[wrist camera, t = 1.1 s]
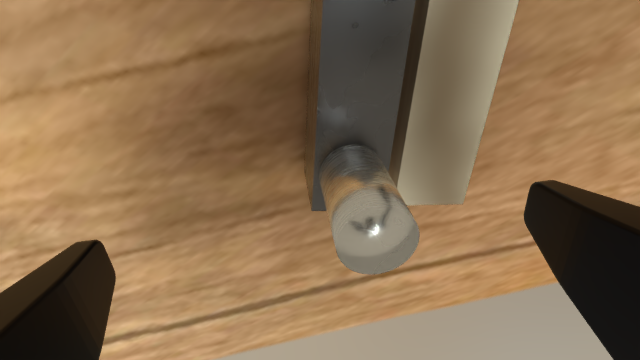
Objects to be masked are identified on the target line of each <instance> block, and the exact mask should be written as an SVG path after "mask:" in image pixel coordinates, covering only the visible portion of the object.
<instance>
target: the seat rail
mask: <svg viewBox="0 0 640 360" xmlns="http://www.w3.org/2000/svg"><path fill="white" fill-rule="evenodd" d="M518 2H519V0H416V1H415V7H414V13H413V20H412V26H411V32H410V39H409V45H408V51H407V58H406V64H405V70H404V77H403V83H402V89H401V96H400V102H399V108H398V115H397V121H396V127H395V134H394V140H393V146H392V153H391V159H390V165H389V171H388V173H389V175H390V177H391V178H392V180H393V182H394V184H395V186H396V187H397V189H398V191H399V193H400V195H401V196H402V198H403V200H404V202H405V204H406V205H448V204H463V202H464V198H465V195H466V191H467V187H468V184H469V180H470V177H471V173H472V169H473V166H474V162H475V158H476V155H477V151H478V148H479V144H480V140H481V137H482V133H483V129H484V126H485V122H486V118H487V115H488V111H489V108H490V104H491V100H492V97H493V93H494V89H495V86H496V82H497V79H498V75H499V71H500V68H501V64H502V60H503V57H504V53H505V49H506V46H507V42H508V39H509V35H510V31H511V28H512V24H513V20H514V17H515V13H516V9H517V6H518Z"/></svg>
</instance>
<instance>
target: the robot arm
mask: <svg viewBox="0 0 640 360" xmlns="http://www.w3.org/2000/svg"><path fill="white" fill-rule="evenodd" d="M524 221H525V224H526V226H527V228H528V230H529V231H530V233H531V235H532V237H533V239H534V240H535V242H536V244H537V246H538V247H539V249H540V251H541V253H542V254H543V256H544V258H545V260H546V261H547V263H548V265H549V267H550V268H551V270H552V272H553V274H554V275H555V277H556V279H557V280H558V282H559V283H560V285H561V286H562V288H563V289H564V291H565V292H566V294H567V295H568V296H569V298H570V299H571V301H572V302H573V303H574V305H575V306H576V308H577V309H578V310H579V312H580V313H581V315H582V316H583V318H584V319H585V320H586V322H587V323H588V325H589V326H590V327H591V329H592V330H593V332H594V333H595V334H596V336H597V337H598V338H599V340H600V341H601V343H602V344H603V346H604V347H605V348H606V350H607V351H608V352H609V354H610V355H611V357H612V358H613V359H614V360H640V207H638V206H635V205H632V204H629V203H626V202H622V201H619V200H616V199H613V198H609V197H606V196H603V195H600V194H597V193H593V192H590V191H587V190H584V189H581V188H577V187H574V186H571V185H568V184H564V183H561V182H558V181H555V180H547V181H540V182H535V183H533V184H532V185H531V187H530V189H529V194H528V198H527V203H526V207H525V211H524ZM115 280H116V276H115V271H114V268H113V266H112V263H111V261H110V259H109V257H108V254H107V252H106V250H105V248H104V245H103V244H102V243H101V242H100V241H98V240H89V241H81V242H77V243H75V244H73V245H71V246H70V247H68V248H67V249H65V250H64V251H62V252H61V253H59V254H58V255H56V256H55V257H54V258H52V259H51V260H49V261H48V262H46V263H45V264H43V265H42V266H40V267H39V268H37V269H36V270H34V271H33V272H31V273H30V274H28V275H27V276H25V277H24V278H22V279H21V280H19V281H18V282H16V283H15V284H13V285H12V286H10V287H9V288H7V289H6V290H4V291H3V292H1V293H0V360H99V356H100V353H101V349H102V345H103V341H104V336H105V331H106V326H107V321H108V316H109V311H110V306H111V301H112V296H113V291H114V286H115Z"/></svg>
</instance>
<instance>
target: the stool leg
mask: <svg viewBox="0 0 640 360" xmlns="http://www.w3.org/2000/svg"><path fill="white" fill-rule="evenodd" d="M415 1H416V0H311V21H310V46H309V71H308V96H307V121H306V146H305V177H306V182H307V188H308V193H309V199H310V204H311V210H312V211H327V214H328V218H329V222H330V226H331V230H332V235H333V239H334V243H335V247H336V251H337V254H338V257H339V259H340V261H341V262H342V263H343V264H344V265H345V266H346V267H347V268H349V269H351V270H352V271H355V272H358V273H362V274H380V273H384V272H388V271H390V270H393V269H395V268H397V267H399V266H400V265H402V264H403V263H404V262H406V261H407V260H408V259H409V258H410V257H411V255H412V254H413V253H414V251H415V250H416V247H417V245H418V242H419V228H418V225H417V223H416V221H415V220H414V218H413V216H412V214H411V213H410V211H409V209H408V207H407V205H406V204H405V202H404V200H403V198H402V196H401V195H400V193H399V191H398V189H397V187H396V186H395V184H394V182H393V180H392V178H391V177H390V175H389V173H388V171H389V165H390V159H391V153H392V146H393V140H394V134H395V127H396V121H397V115H398V108H399V102H400V96H401V89H402V83H403V77H404V70H405V64H406V58H407V51H408V45H409V39H410V32H411V26H412V20H413V13H414V7H415Z"/></svg>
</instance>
